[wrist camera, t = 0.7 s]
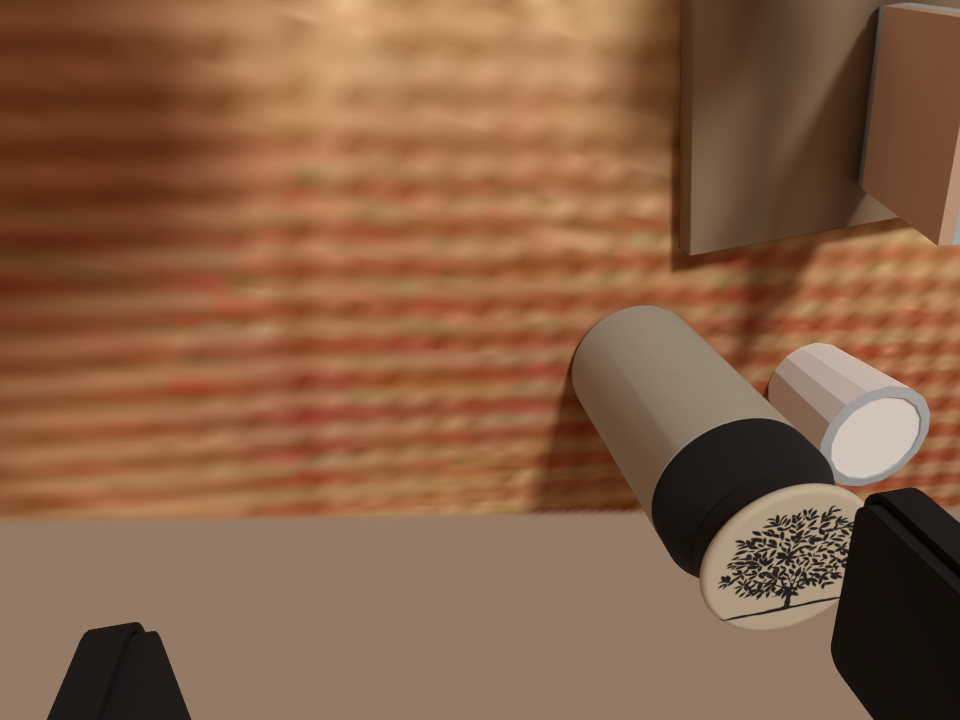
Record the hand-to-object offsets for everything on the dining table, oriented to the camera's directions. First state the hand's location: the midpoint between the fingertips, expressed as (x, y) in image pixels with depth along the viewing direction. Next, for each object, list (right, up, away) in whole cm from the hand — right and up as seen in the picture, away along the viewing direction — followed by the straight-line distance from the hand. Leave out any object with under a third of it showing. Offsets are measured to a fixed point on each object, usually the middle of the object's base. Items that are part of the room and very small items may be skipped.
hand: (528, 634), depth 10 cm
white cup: (+21, +2, +39) cm, 44 cm away
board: (+20, +18, +30) cm, 40 cm away
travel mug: (+9, +4, +36) cm, 37 cm away
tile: (+19, +15, +24) cm, 34 cm away
